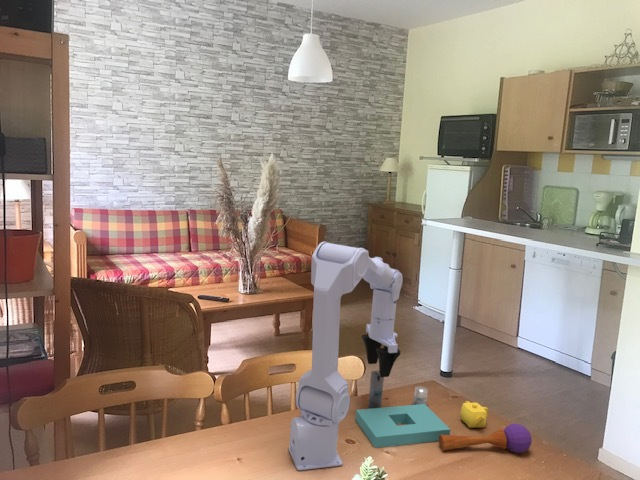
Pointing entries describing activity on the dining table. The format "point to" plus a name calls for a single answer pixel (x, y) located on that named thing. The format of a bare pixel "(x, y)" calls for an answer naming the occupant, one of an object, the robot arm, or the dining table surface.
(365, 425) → the hole plate
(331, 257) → the robot arm
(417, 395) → the short pin
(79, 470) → the dining table surface
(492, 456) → the dining table surface
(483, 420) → the teapot
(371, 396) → the tall pin
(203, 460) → the dining table surface
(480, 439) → the kendama
